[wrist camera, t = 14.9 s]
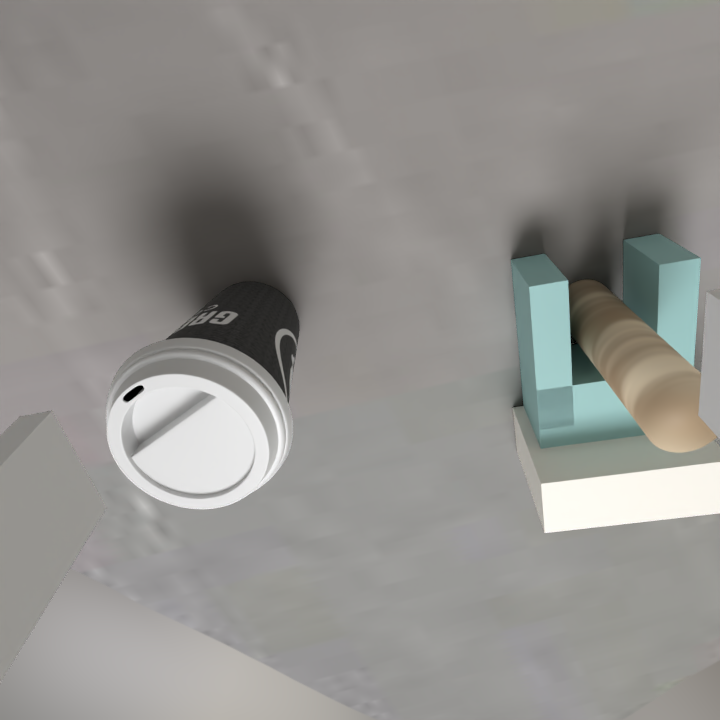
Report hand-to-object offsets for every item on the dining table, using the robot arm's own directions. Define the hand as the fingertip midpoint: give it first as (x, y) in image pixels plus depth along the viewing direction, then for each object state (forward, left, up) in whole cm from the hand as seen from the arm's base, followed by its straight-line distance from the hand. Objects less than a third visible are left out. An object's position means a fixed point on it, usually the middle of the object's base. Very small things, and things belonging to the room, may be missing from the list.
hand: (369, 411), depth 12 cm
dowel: (+10, +12, -27) cm, 32 cm away
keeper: (+11, +12, -27) cm, 32 cm away
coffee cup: (+8, -11, -28) cm, 31 cm away
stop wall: (+20, +12, -27) cm, 36 cm away
